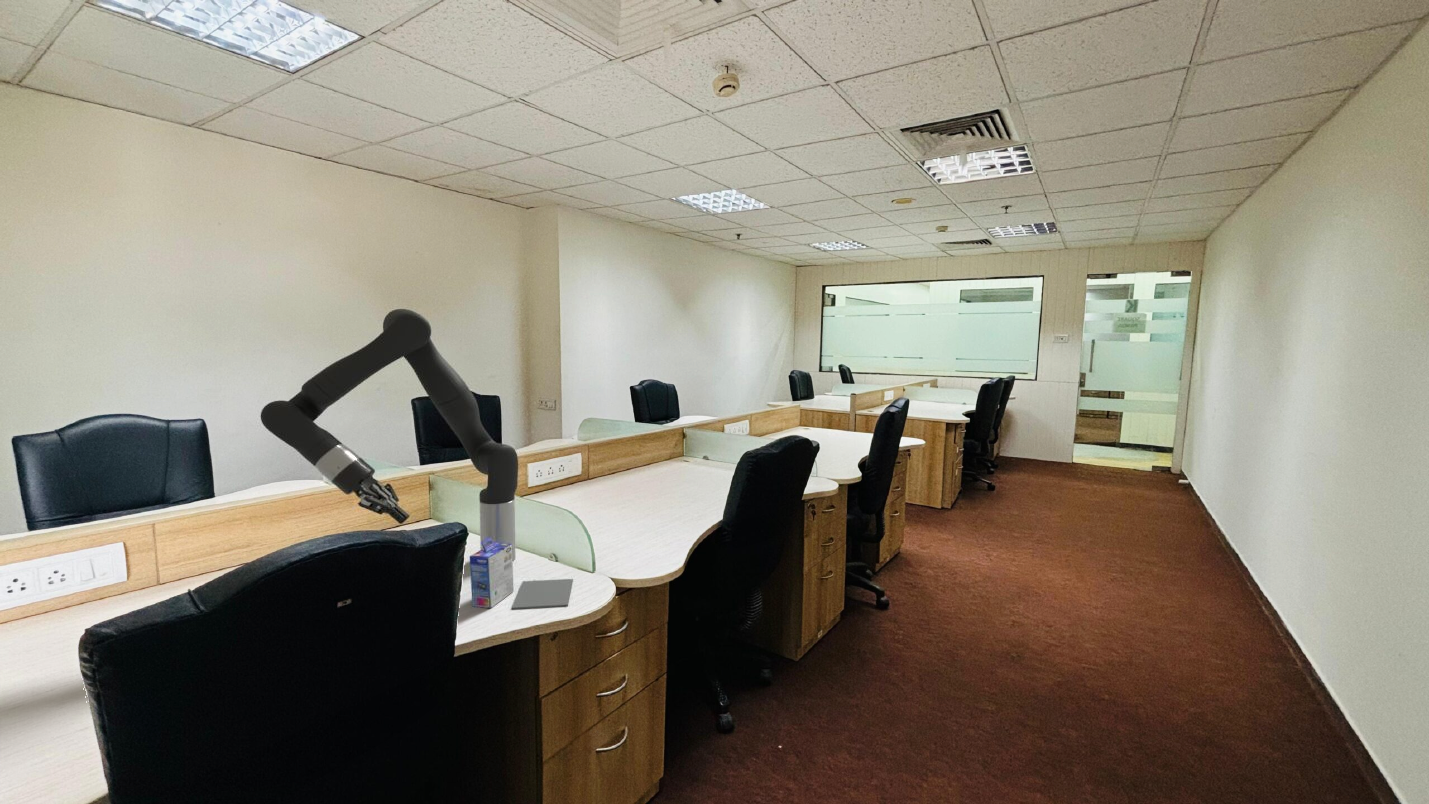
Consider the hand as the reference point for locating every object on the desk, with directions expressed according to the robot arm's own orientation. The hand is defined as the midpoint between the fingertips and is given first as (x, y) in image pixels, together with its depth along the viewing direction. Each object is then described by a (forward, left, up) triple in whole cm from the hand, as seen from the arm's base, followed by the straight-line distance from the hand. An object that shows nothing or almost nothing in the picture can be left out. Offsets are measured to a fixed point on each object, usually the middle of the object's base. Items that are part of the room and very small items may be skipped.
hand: (405, 520), depth 129 cm
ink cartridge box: (0, +19, -20) cm, 28 cm away
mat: (-1, +31, -20) cm, 36 cm away
